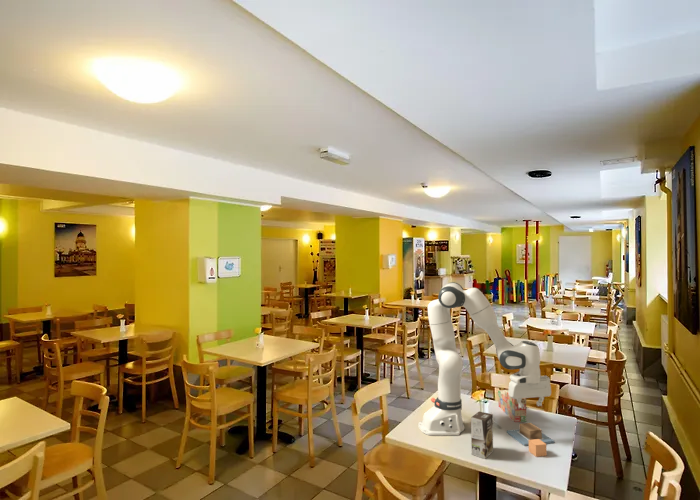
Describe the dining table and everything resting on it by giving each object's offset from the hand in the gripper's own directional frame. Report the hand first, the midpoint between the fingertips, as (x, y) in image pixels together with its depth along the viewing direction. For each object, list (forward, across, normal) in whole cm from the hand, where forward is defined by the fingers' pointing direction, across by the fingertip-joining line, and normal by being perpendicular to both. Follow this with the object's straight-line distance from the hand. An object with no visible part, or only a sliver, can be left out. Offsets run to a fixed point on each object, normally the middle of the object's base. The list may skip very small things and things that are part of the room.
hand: (530, 406), depth 187 cm
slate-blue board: (+15, 0, -1) cm, 15 cm away
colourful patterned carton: (+15, -9, -29) cm, 34 cm away
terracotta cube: (+15, +6, +13) cm, 21 cm away
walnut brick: (+14, -1, -1) cm, 14 cm away
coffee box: (+15, +28, +7) cm, 33 cm away
